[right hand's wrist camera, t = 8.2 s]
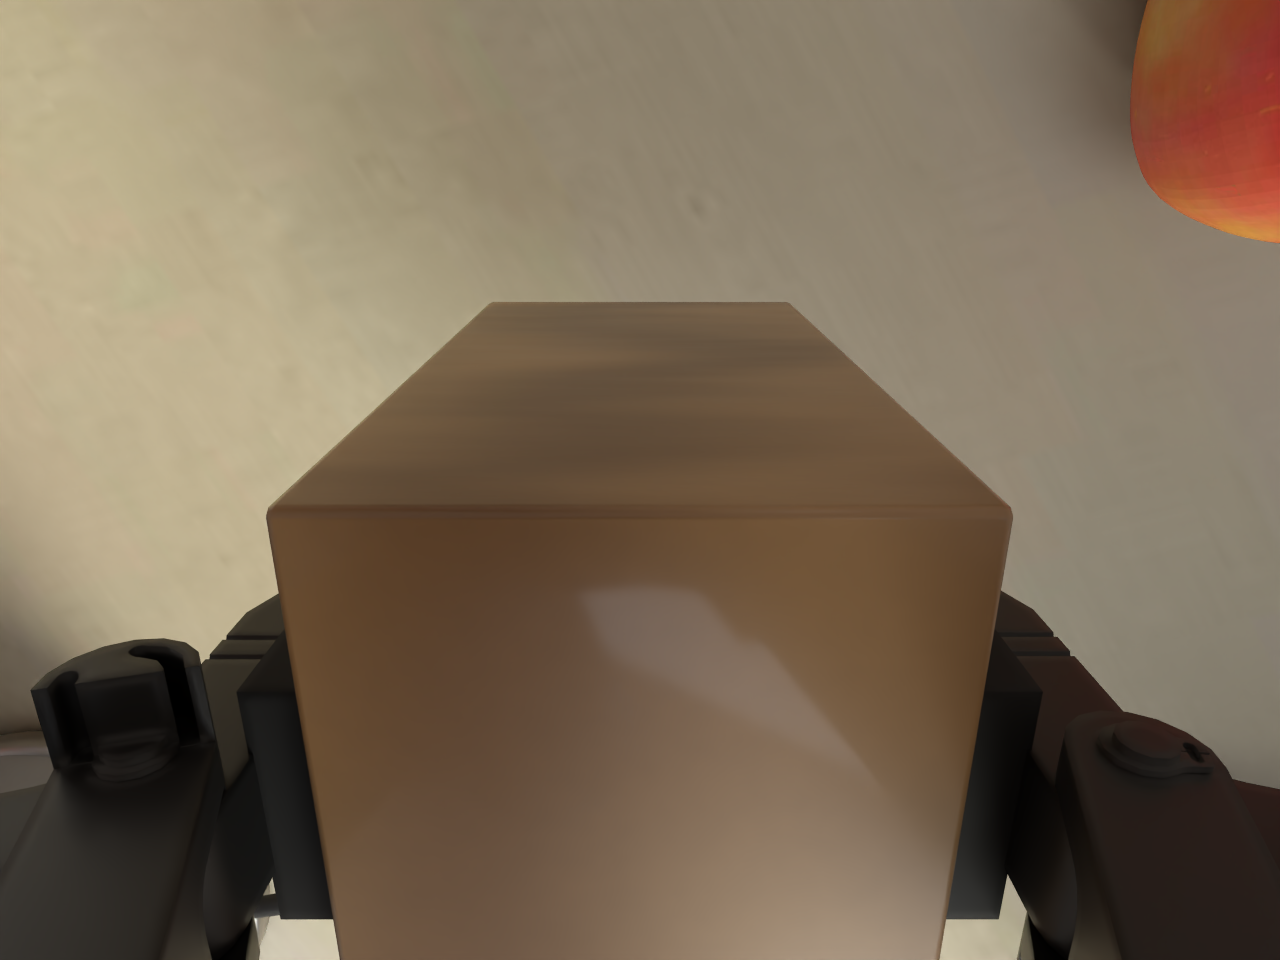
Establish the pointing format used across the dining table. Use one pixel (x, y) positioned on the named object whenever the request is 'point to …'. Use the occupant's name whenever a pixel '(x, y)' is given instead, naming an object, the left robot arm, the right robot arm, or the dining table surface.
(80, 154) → the dining table surface
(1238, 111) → the apple
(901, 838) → the brick
